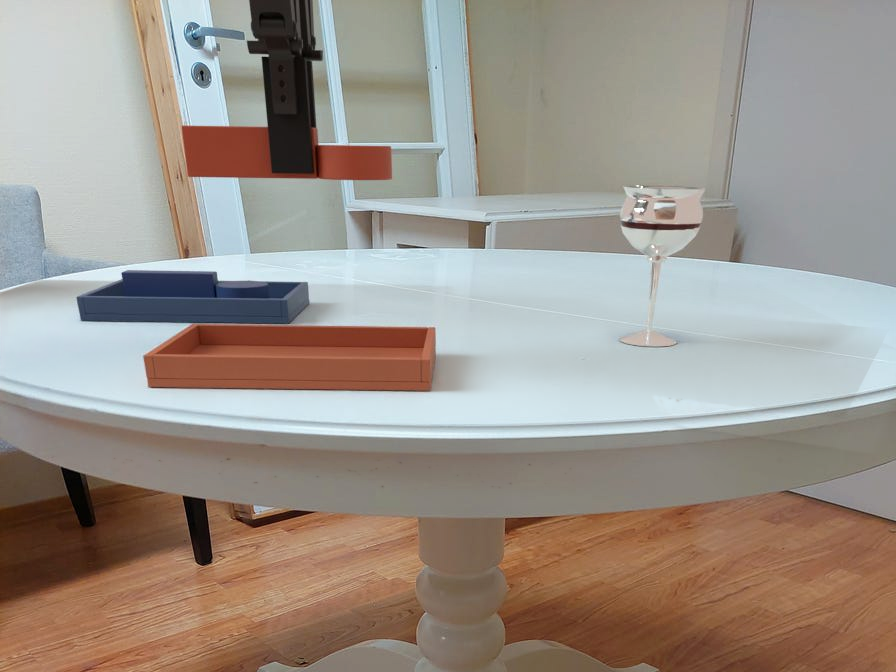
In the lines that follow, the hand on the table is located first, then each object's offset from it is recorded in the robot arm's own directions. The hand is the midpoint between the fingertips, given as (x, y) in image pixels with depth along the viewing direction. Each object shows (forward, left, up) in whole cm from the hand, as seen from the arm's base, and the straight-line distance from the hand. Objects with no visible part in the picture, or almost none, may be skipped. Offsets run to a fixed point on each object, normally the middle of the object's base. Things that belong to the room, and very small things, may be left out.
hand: (296, 172), depth 60 cm
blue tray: (-14, +24, -13) cm, 31 cm away
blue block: (-14, +24, -12) cm, 30 cm away
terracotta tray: (0, -1, -13) cm, 13 cm away
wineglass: (+28, +12, -13) cm, 33 cm away
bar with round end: (0, 0, 0) cm, 0 cm away
